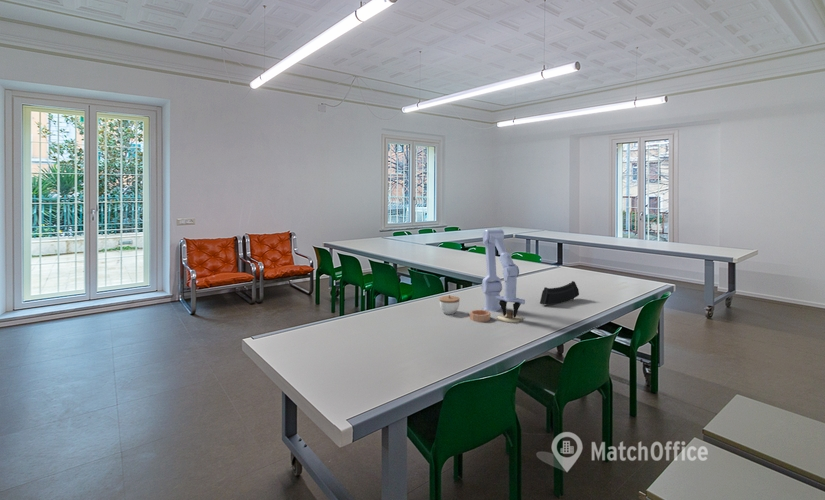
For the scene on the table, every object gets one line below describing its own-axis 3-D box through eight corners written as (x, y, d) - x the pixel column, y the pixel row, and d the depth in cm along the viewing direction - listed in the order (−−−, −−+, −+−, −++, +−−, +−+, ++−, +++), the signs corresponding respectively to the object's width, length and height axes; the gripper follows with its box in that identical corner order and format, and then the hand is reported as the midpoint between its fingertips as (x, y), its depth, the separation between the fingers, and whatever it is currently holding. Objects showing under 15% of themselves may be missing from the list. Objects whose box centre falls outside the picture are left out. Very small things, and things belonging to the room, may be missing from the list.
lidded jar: (463, 313, 228) (463, 295, 226) (447, 316, 222) (447, 298, 220) (450, 308, 236) (450, 292, 235) (435, 311, 230) (435, 294, 229)
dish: (475, 315, 223) (475, 308, 223) (493, 318, 218) (493, 311, 217) (466, 320, 215) (466, 313, 214) (485, 323, 209) (485, 316, 209)
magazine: (541, 291, 236) (575, 270, 250) (537, 290, 239) (571, 270, 253) (546, 319, 241) (580, 297, 255) (542, 317, 244) (575, 295, 258)
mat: (502, 315, 223) (502, 314, 223) (525, 318, 217) (525, 317, 217) (493, 320, 213) (493, 320, 213) (517, 324, 207) (517, 324, 207)
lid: (502, 314, 223) (502, 306, 223) (525, 317, 217) (525, 309, 216) (493, 320, 213) (494, 311, 213) (517, 324, 207) (517, 315, 206)
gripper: (493, 289, 214) (493, 315, 215) (522, 293, 206) (521, 320, 208) (498, 286, 219) (498, 312, 221) (526, 290, 212) (525, 316, 214)
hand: (509, 316), depth 215 cm, fingers open, 5 cm apart
